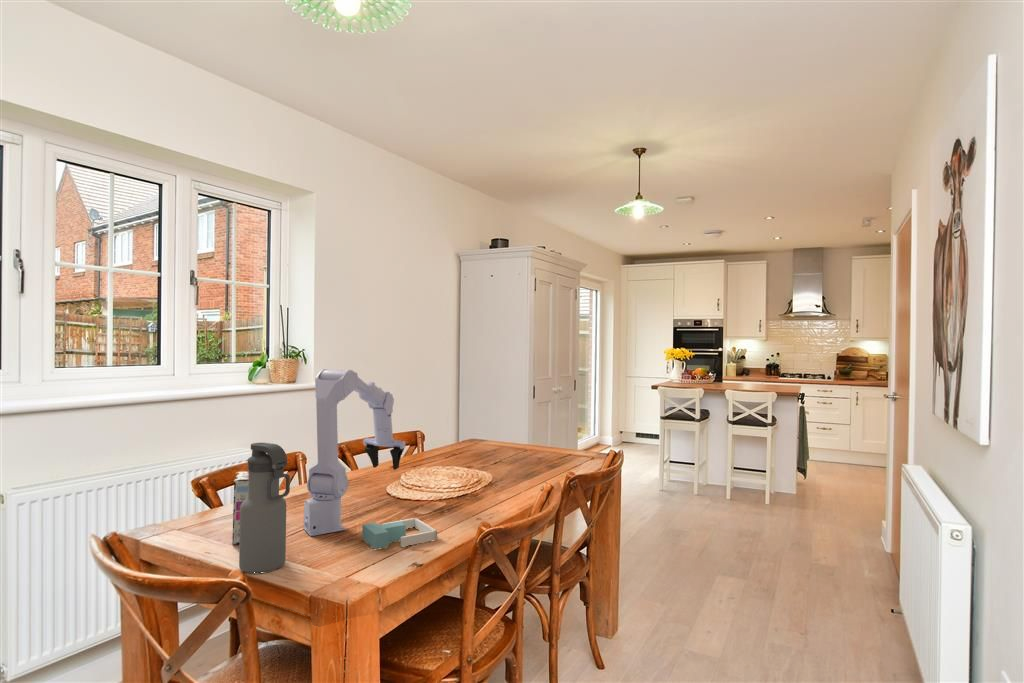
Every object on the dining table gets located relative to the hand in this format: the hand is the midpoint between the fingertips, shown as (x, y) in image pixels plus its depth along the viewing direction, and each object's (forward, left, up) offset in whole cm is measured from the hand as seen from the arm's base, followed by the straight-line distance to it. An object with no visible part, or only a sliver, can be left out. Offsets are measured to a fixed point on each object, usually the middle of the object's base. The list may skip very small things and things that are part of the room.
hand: (385, 467), depth 186 cm
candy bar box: (-45, -14, -11) cm, 48 cm away
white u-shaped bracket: (-8, -36, -11) cm, 39 cm away
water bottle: (-45, -37, -11) cm, 59 cm away
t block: (-15, -36, -11) cm, 41 cm away
